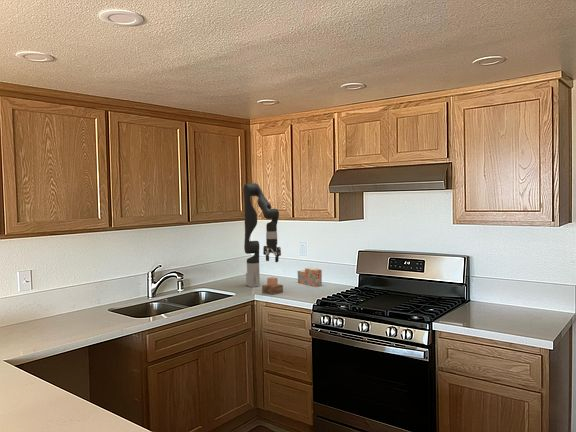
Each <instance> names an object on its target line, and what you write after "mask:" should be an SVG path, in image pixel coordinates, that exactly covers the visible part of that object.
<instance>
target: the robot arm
mask: <svg viewBox="0 0 576 432" xmlns="http://www.w3.org/2000/svg"><path fill="white" fill-rule="evenodd" d="M251 197H257V206H258V207H259V209H260V210H261V211H262V215H263V218H265V219H266V220H271V221H269V222H267V223H266V225H265V226H266V229H265V230H266V231H265V232H266V234H265V235H266V236H265V239H266V240H265V241H266V242H265V244H266V245H263V249H262V250H263V252H262V253H263V255H265V261H266V262H269V261H270V254H273V255H274V260H275V261H274V262H275V263H279V257H281V256H282V251H281V250H282V249H281V246H278V231H277V230H278V228H277V227H278V221H279V218H280V211H279V209H278V208H272V205H271V203H270V202H269V201H268V199H267V198H266V196H265V194H264V192H263V191H262V189H261V187H260V185H259V184H258V183H255V182H253V183H245V184H244V185H243V201H244V242H243V243H244V244H243V245H244V247H243V248H244V250H243V251H244V253H245V254H247V255H249V254H250V255H251V254H253V255H252V256H251V257H249V258H247V259H246V273H245V286H247V287H249V288H255V287H256V286H258V287H260V285H261V282H260V281H261V280H260V279H261V278H260V276H261V275H260V242H259V240H250V238H251V235H252V234H253V232H254V230H255V228H256V227H257V224H258V214H257V213H258V212H257V210H256V209H255V208H254V206H253V205H252V201H251Z"/></svg>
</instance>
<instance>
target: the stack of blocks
mask: <svg viewBox="0 0 576 432" xmlns="http://www.w3.org/2000/svg"><path fill="white" fill-rule="evenodd" d="M322 272H323V271H322V269H320V268H315V267H307V268H306V267H305V268H304V269H301V270H297V283H298V284H300V285H306V286H308V287H309V286H310V287H313V288H317V287H322V286H323V283H322V281H323V280H322V277H323V273H322Z"/></svg>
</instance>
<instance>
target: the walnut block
mask: <svg viewBox="0 0 576 432" xmlns="http://www.w3.org/2000/svg"><path fill="white" fill-rule="evenodd" d="M261 288H262V289H261V291H262V294H267V295H271V296H272V295H273V296H274V295H278V294H282V293H283V292H284V285H283V284H279V283H278V285H276V286H267V284H263V285H261Z"/></svg>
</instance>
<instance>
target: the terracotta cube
mask: <svg viewBox="0 0 576 432" xmlns="http://www.w3.org/2000/svg"><path fill="white" fill-rule="evenodd" d="M266 282H267V283H266V285H267V286H276V285H278V284H279V283H278V277H267V279H266Z"/></svg>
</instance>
